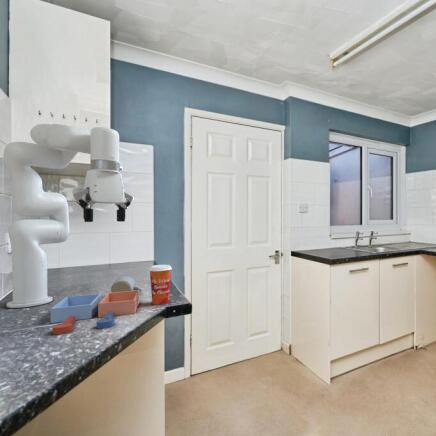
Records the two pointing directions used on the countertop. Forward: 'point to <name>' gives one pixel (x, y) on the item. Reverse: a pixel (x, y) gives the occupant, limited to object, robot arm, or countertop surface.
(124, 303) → the clay bin
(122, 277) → the ceramic mug
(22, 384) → the countertop surface
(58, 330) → the clay spoon
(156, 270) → the paper cup
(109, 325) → the slate spoon
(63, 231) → the robot arm
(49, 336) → the countertop surface
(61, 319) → the slate bin
